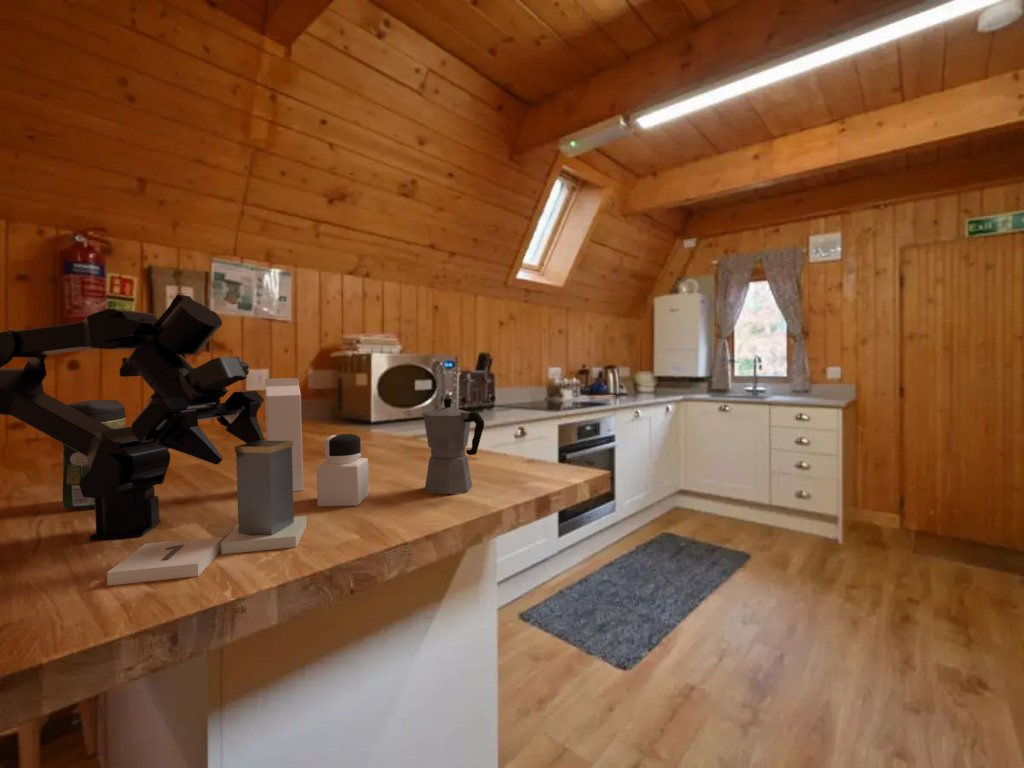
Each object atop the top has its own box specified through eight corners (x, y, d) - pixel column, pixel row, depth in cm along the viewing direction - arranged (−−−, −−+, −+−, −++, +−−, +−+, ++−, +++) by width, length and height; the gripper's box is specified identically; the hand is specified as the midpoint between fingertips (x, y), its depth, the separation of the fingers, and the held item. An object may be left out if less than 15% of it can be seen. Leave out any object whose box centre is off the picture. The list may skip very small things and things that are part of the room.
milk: (267, 488, 96) (263, 378, 95) (300, 483, 99) (297, 377, 98) (269, 494, 91) (265, 379, 90) (304, 490, 94) (300, 378, 93)
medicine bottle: (369, 495, 90) (368, 431, 90) (358, 506, 83) (357, 437, 83) (331, 495, 90) (329, 432, 90) (316, 507, 83) (315, 438, 83)
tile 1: (107, 585, 54) (106, 571, 54) (146, 554, 62) (145, 542, 62) (198, 576, 56) (197, 562, 56) (223, 547, 65) (222, 536, 65)
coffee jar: (90, 496, 90) (85, 398, 90) (137, 494, 92) (133, 397, 91) (51, 512, 81) (46, 402, 80) (105, 509, 82) (100, 401, 82)
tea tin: (237, 533, 66) (234, 446, 65) (262, 520, 71) (259, 440, 70) (272, 534, 65) (269, 447, 64) (294, 522, 70) (292, 440, 70)
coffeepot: (407, 489, 94) (406, 398, 93) (440, 479, 102) (439, 395, 101) (467, 502, 86) (466, 401, 85) (499, 490, 93) (498, 398, 92)
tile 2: (221, 554, 62) (221, 542, 62) (241, 531, 71) (241, 520, 71) (296, 547, 65) (295, 535, 65) (306, 525, 73) (306, 515, 73)
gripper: (148, 333, 59) (232, 424, 58) (251, 340, 77) (316, 409, 76) (94, 396, 60) (175, 486, 59) (208, 388, 79) (272, 457, 78)
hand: (243, 455), depth 68 cm, fingers open, 9 cm apart
